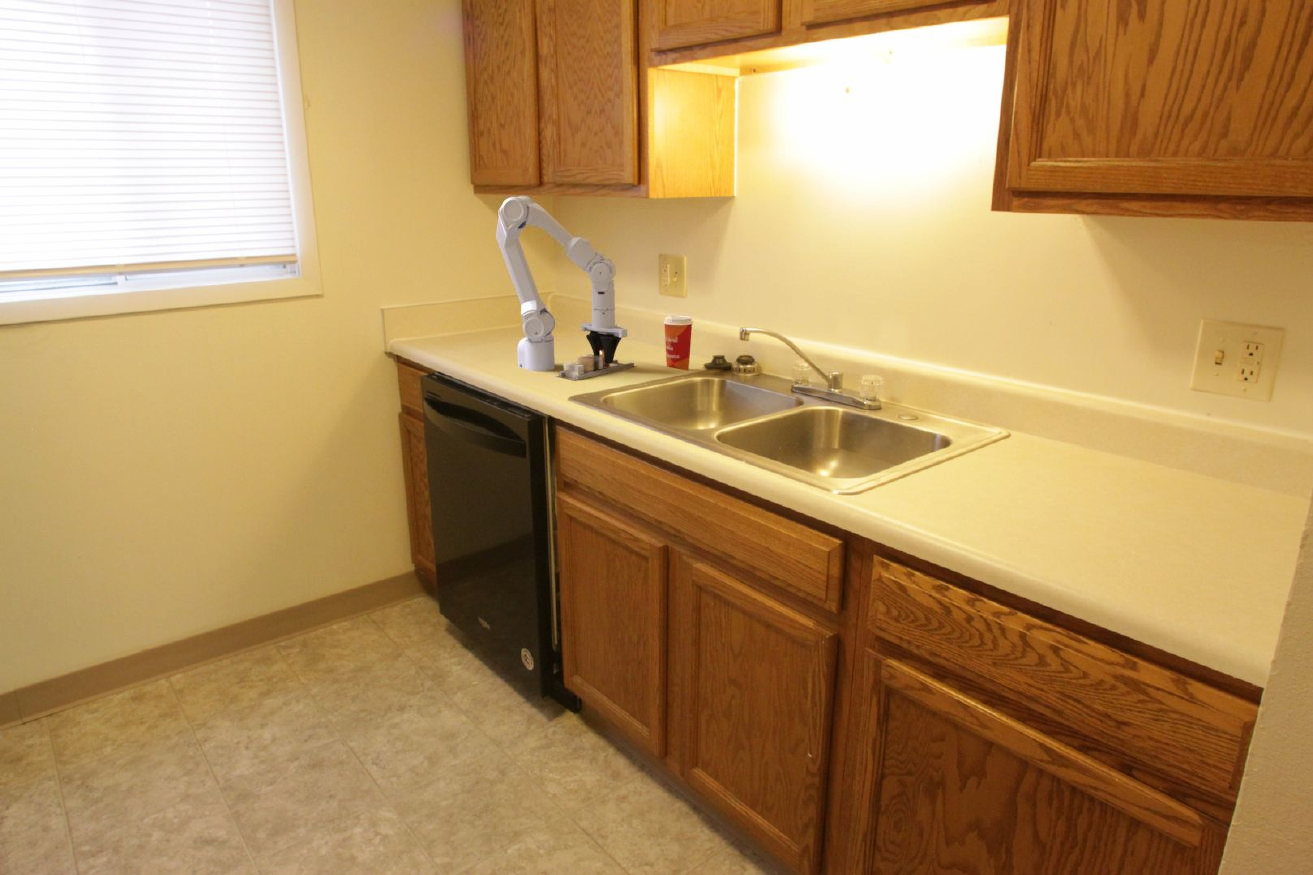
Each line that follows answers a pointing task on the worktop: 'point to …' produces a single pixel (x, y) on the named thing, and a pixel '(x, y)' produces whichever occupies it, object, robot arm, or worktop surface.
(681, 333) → the paper cup
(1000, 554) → the worktop surface
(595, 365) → the press jaw
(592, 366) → the tan cylinder
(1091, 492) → the worktop surface
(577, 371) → the grey tray
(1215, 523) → the worktop surface
